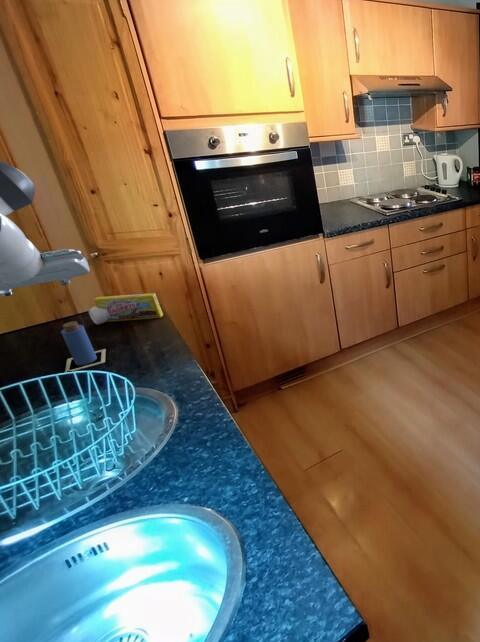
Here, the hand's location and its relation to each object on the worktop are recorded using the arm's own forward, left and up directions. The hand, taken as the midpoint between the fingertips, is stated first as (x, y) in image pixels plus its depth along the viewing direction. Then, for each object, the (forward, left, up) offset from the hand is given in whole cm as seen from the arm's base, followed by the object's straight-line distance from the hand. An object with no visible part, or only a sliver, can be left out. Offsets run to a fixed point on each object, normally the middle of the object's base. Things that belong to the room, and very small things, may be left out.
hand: (37, 287), depth 102 cm
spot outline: (0, +13, -27) cm, 30 cm away
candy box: (+11, +34, -28) cm, 45 cm away
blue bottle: (0, +13, -27) cm, 30 cm away
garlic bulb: (+4, +37, -27) cm, 47 cm away
